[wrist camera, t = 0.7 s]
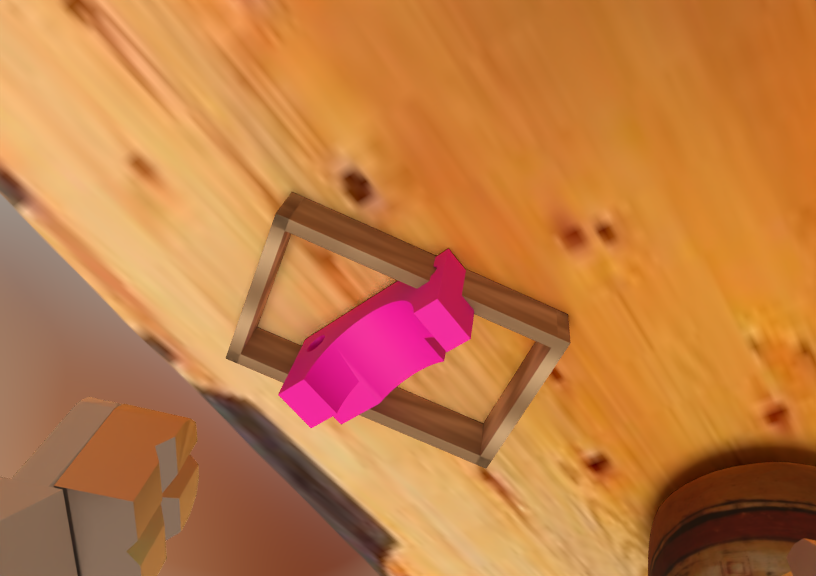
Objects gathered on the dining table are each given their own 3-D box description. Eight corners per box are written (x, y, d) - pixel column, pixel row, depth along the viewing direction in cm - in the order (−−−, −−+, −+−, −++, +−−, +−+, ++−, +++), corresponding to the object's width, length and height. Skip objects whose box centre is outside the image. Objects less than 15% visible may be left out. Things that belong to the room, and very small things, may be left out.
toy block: (352, 390, 62) (332, 449, 56) (305, 339, 60) (277, 394, 54) (496, 308, 56) (491, 364, 49) (448, 248, 54) (437, 298, 48)
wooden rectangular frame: (292, 192, 54) (275, 213, 50) (568, 314, 55) (570, 343, 52) (242, 331, 61) (225, 358, 57) (488, 436, 62) (486, 468, 59)
